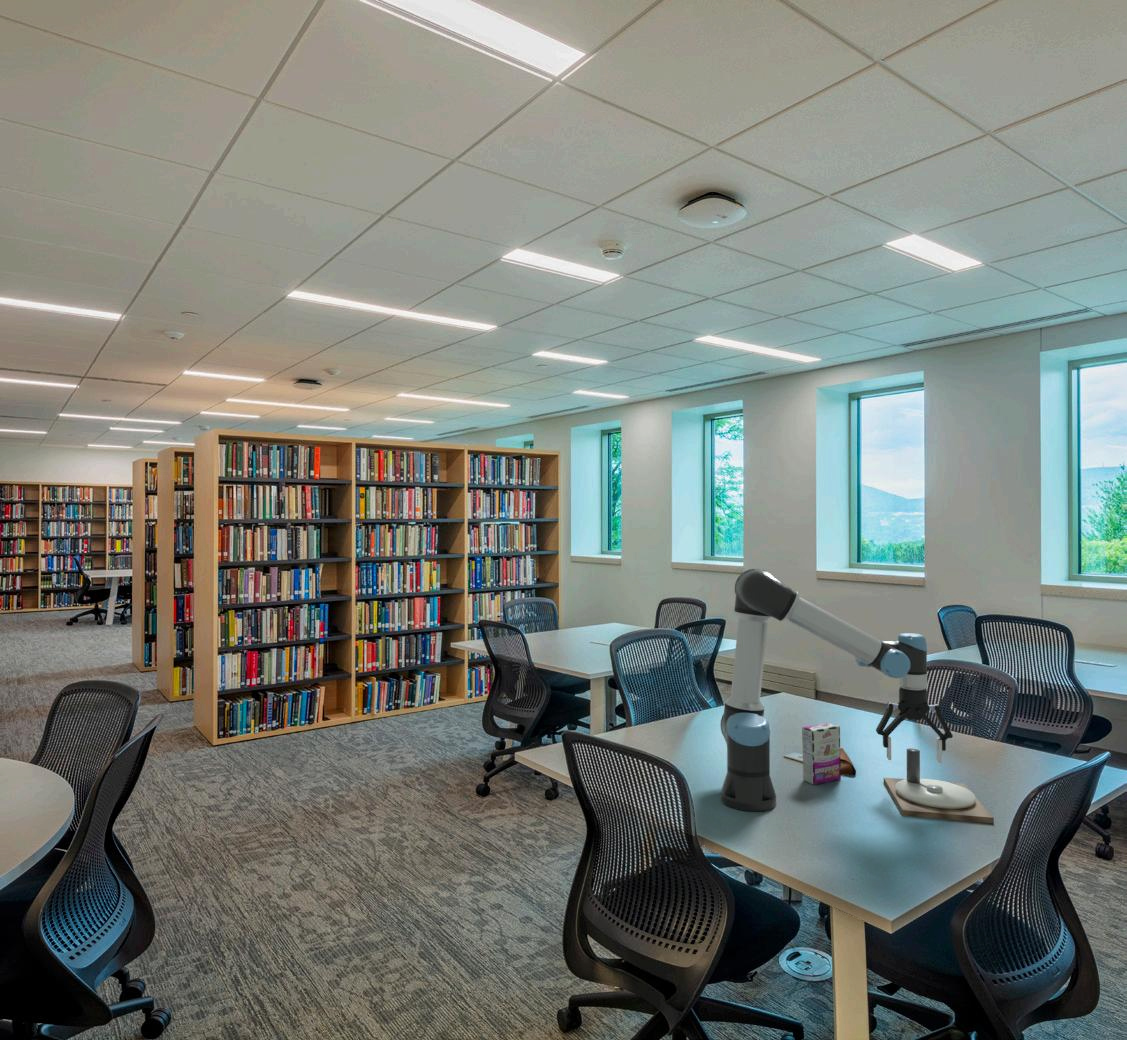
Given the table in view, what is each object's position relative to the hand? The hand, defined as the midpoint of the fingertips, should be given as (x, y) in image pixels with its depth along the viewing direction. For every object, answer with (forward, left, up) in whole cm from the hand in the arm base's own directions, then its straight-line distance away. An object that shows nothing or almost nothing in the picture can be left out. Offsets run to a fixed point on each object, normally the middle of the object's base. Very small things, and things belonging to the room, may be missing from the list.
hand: (914, 760), depth 214 cm
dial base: (+4, -7, -9) cm, 12 cm away
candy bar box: (-25, +4, -9) cm, 27 cm away
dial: (+4, -7, -7) cm, 11 cm away
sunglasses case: (-19, +19, -10) cm, 29 cm away
